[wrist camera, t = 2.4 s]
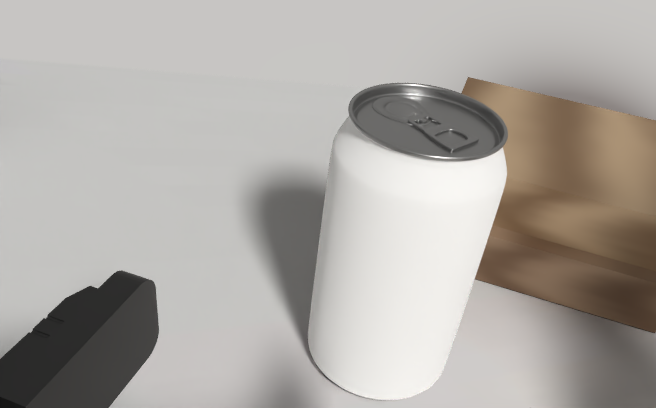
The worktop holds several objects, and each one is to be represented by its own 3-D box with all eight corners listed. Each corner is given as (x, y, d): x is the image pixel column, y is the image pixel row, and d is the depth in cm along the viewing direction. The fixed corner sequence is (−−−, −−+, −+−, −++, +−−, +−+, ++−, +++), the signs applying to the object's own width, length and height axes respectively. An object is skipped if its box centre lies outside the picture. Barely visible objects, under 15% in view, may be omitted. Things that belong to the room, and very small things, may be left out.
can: (377, 281, 32) (422, 66, 25) (473, 361, 28) (558, 134, 21) (278, 333, 28) (298, 98, 21) (372, 434, 24) (435, 186, 17)
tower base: (391, 253, 34) (411, 162, 30) (437, 144, 45) (455, 68, 41) (654, 333, 31) (710, 241, 27) (633, 195, 42) (671, 118, 38)
